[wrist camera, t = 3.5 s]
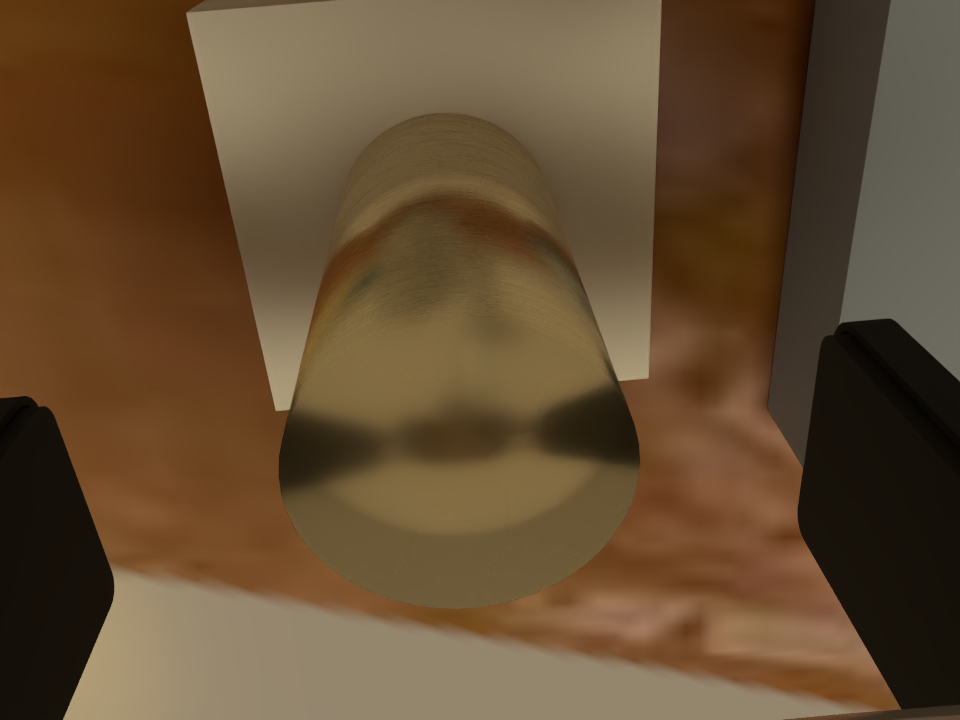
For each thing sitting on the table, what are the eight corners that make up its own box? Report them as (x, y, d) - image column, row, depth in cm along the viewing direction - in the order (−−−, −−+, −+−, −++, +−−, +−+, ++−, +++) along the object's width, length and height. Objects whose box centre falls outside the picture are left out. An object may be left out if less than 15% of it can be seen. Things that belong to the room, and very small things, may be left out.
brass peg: (325, 122, 16) (244, 336, 9) (547, 103, 16) (644, 302, 9) (356, 320, 18) (312, 622, 11) (553, 302, 18) (635, 593, 11)
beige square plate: (211, -5, 16) (185, 12, 14) (637, -39, 16) (662, -26, 15) (288, 363, 20) (275, 410, 19) (629, 333, 20) (648, 378, 19)
